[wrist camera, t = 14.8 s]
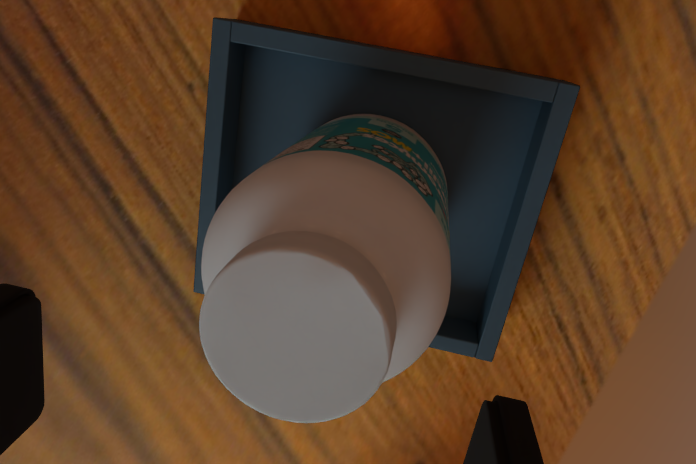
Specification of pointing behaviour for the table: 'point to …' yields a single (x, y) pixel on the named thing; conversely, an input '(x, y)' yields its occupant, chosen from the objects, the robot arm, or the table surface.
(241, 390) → the pill bottle
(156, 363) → the table surface
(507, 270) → the tray
